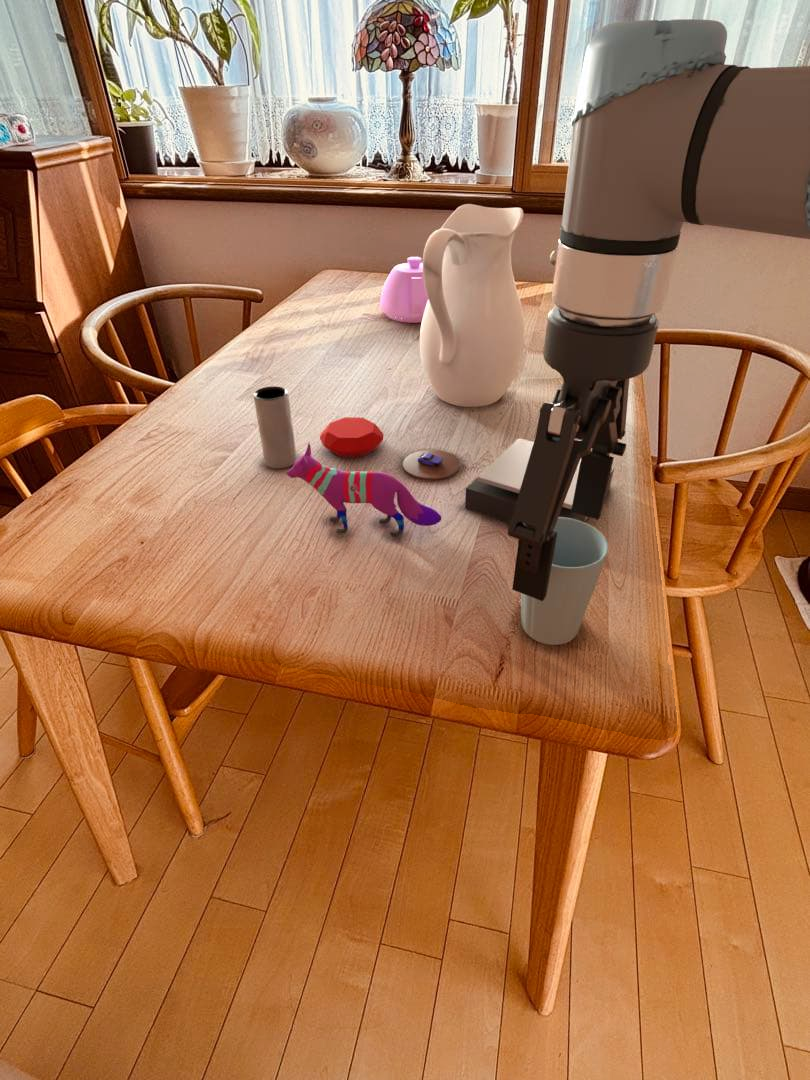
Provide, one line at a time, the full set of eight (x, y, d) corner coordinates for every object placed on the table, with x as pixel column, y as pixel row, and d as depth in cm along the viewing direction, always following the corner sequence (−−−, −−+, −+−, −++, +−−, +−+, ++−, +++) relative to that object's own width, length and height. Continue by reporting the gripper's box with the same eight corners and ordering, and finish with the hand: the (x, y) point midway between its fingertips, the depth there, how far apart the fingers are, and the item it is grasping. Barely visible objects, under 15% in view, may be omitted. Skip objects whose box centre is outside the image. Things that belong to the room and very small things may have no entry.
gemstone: (390, 454, 90) (390, 435, 88) (330, 465, 87) (328, 446, 86) (372, 428, 97) (371, 410, 95) (316, 437, 94) (314, 419, 93)
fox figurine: (297, 516, 77) (286, 441, 71) (442, 522, 76) (444, 447, 70) (289, 533, 74) (278, 457, 68) (440, 540, 73) (442, 463, 67)
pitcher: (449, 368, 116) (454, 200, 99) (534, 386, 109) (555, 208, 92) (378, 417, 100) (370, 225, 83) (472, 442, 92) (484, 237, 76)
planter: (294, 451, 91) (285, 384, 85) (298, 466, 87) (289, 397, 81) (263, 455, 90) (252, 388, 84) (266, 471, 86) (254, 401, 80)
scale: (610, 489, 82) (617, 459, 79) (572, 543, 72) (577, 512, 70) (511, 461, 88) (514, 433, 85) (464, 508, 78) (466, 478, 76)
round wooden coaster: (446, 485, 83) (446, 475, 82) (392, 472, 86) (392, 463, 85) (468, 459, 88) (469, 449, 87) (418, 447, 91) (418, 438, 90)
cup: (531, 662, 58) (545, 575, 51) (497, 608, 63) (506, 524, 57) (603, 644, 59) (625, 558, 53) (564, 593, 65) (579, 510, 59)
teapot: (453, 328, 135) (455, 269, 127) (381, 330, 134) (379, 271, 127) (443, 299, 152) (444, 245, 145) (379, 301, 152) (377, 247, 144)
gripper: (608, 264, 53) (570, 477, 66) (472, 354, 37) (456, 616, 49) (700, 276, 50) (641, 498, 63) (597, 381, 33) (545, 654, 46)
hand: (559, 550), depth 56 cm, fingers open, 13 cm apart
